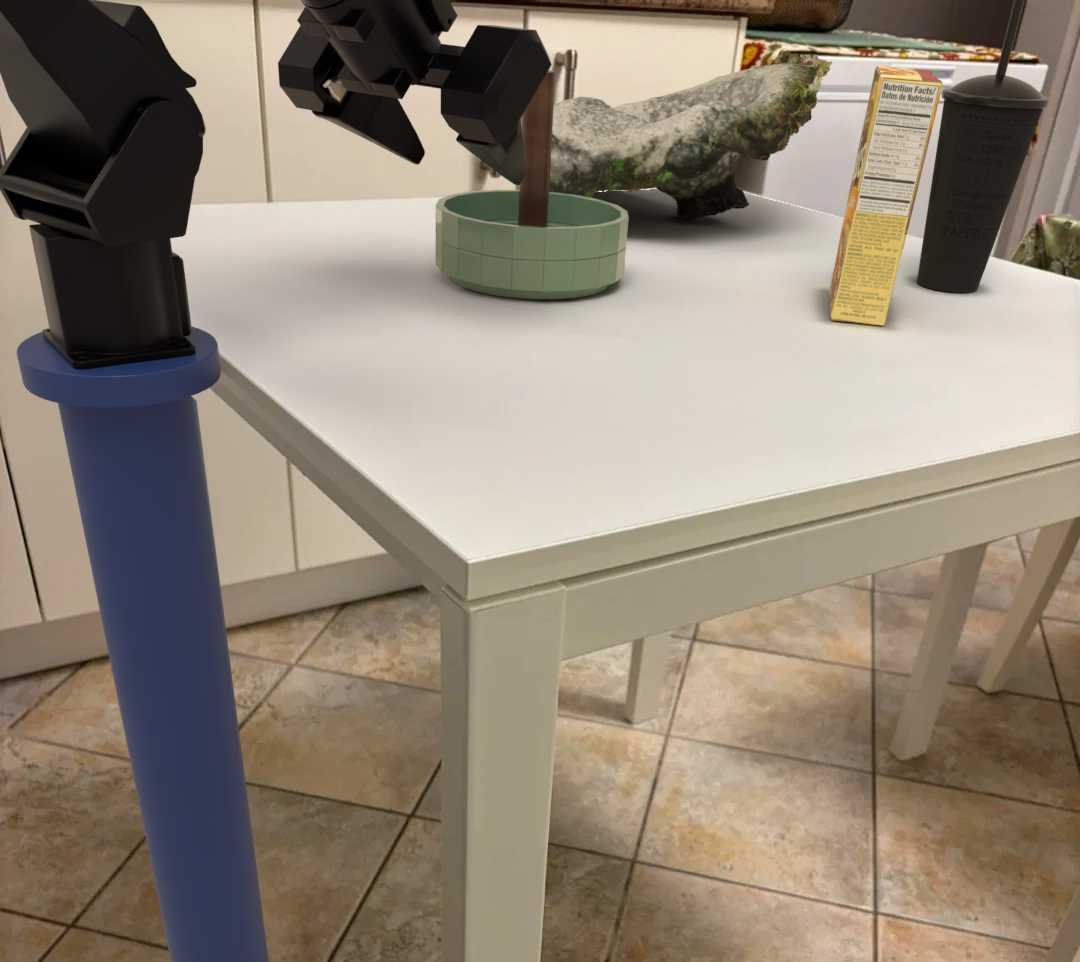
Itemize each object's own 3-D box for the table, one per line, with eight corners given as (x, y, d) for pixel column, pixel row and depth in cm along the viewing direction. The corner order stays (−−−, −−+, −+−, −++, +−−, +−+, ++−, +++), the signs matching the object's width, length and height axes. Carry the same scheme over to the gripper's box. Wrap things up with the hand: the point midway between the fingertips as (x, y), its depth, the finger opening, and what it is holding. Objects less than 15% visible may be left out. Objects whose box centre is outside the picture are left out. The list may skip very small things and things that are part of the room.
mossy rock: (910, 147, 101) (885, -36, 92) (667, 314, 95) (613, 136, 86) (708, 139, 123) (671, -10, 114) (499, 274, 117) (441, 129, 107)
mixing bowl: (502, 312, 76) (504, 235, 74) (402, 265, 86) (401, 195, 83) (659, 291, 83) (667, 220, 80) (552, 250, 93) (555, 185, 90)
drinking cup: (963, 302, 85) (1045, -6, 74) (880, 280, 90) (945, -14, 78) (1014, 290, 90) (1098, -4, 78) (932, 269, 94) (1000, -11, 83)
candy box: (827, 291, 86) (871, 64, 77) (882, 297, 85) (933, 68, 77) (828, 321, 79) (878, 74, 70) (889, 328, 78) (946, 79, 69)
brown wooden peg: (555, 275, 82) (567, 75, 75) (502, 271, 82) (508, 71, 75) (558, 263, 86) (569, 70, 78) (506, 259, 86) (513, 66, 78)
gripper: (540, -152, 57) (638, 85, 71) (300, -154, 66) (428, 56, 80) (435, 26, 57) (554, 231, 70) (207, 0, 66) (352, 185, 79)
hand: (469, 168), depth 75 cm, fingers open, 9 cm apart
